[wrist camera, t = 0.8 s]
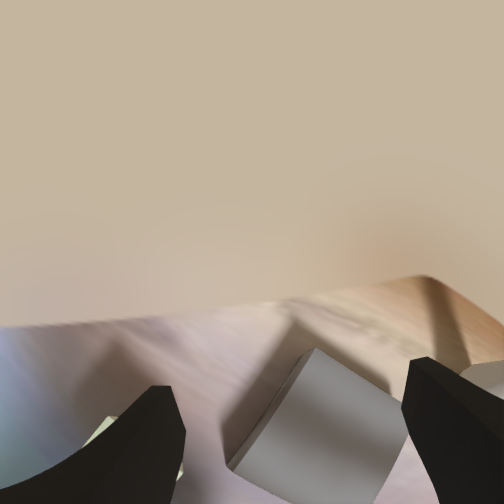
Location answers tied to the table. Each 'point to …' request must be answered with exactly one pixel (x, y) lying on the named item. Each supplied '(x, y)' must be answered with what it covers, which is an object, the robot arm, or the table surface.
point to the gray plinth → (323, 437)
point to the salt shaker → (487, 377)
